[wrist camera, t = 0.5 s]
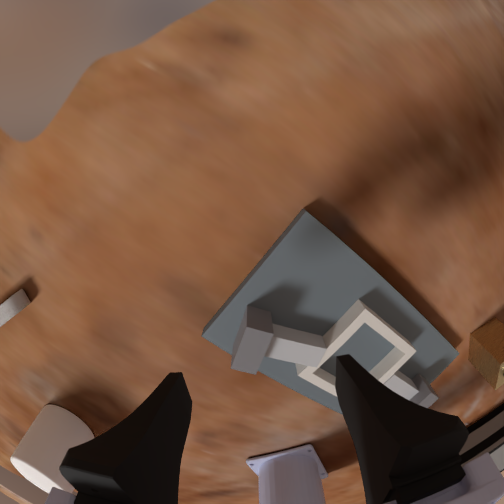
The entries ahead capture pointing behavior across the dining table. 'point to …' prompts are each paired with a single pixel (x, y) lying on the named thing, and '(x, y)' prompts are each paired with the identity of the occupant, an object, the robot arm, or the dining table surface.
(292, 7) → the dining table surface
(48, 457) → the mug
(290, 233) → the base
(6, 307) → the wrench
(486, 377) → the block
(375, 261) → the dining table surface
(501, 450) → the game console
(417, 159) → the dining table surface
